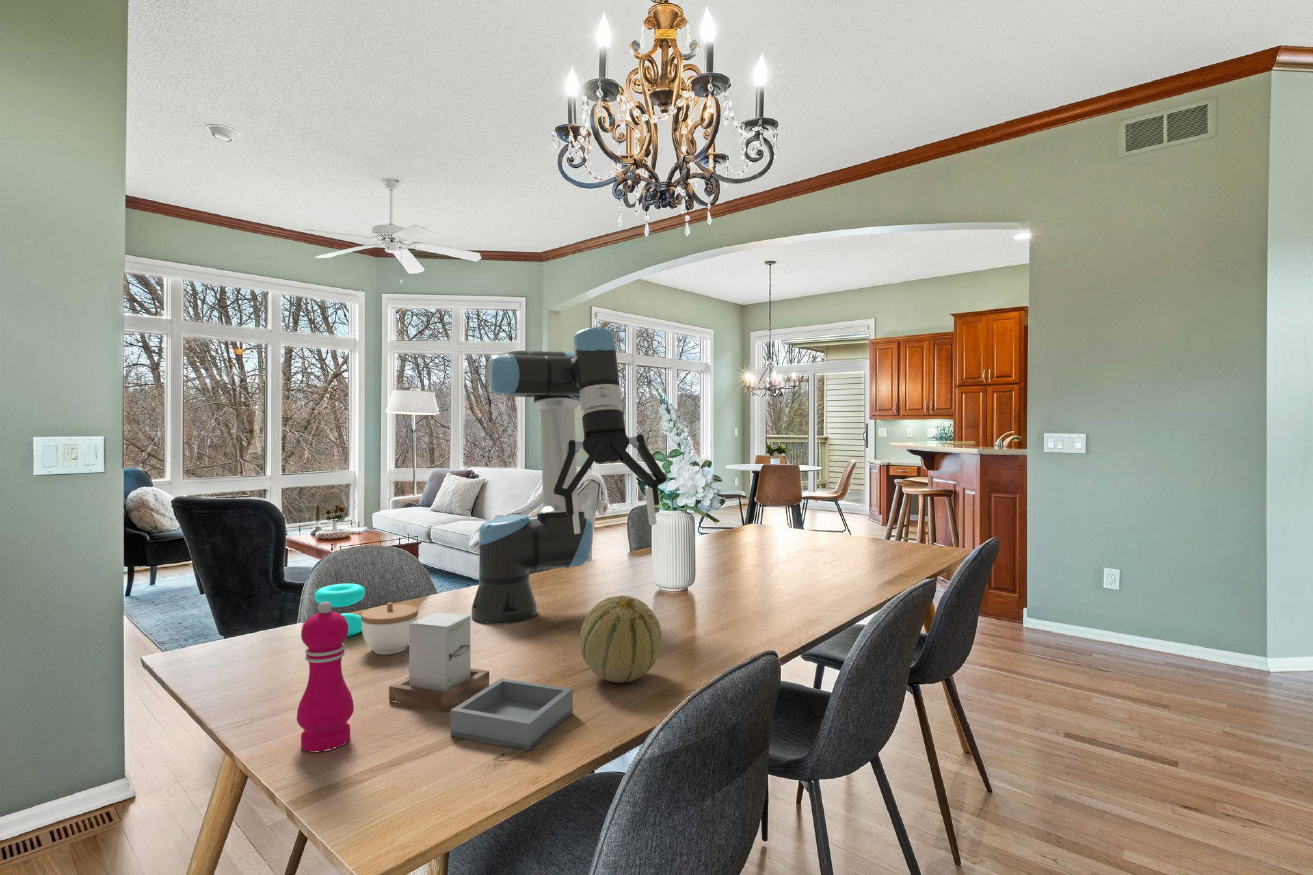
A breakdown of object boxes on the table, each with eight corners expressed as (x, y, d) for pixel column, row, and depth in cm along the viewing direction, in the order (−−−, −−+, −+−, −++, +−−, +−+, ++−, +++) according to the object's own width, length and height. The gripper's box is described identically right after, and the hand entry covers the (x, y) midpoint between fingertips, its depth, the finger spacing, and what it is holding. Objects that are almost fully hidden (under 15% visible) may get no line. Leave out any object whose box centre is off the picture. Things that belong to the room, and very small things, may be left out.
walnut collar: (434, 676, 119) (434, 662, 119) (489, 685, 115) (489, 670, 115) (389, 701, 108) (388, 686, 108) (447, 711, 104) (447, 695, 104)
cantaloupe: (609, 659, 128) (609, 581, 127) (676, 673, 120) (676, 591, 120) (561, 685, 115) (561, 598, 115) (633, 702, 107) (633, 610, 107)
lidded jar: (428, 648, 134) (427, 602, 134) (375, 662, 126) (375, 613, 126) (403, 637, 141) (402, 593, 141) (352, 649, 133) (351, 603, 133)
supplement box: (446, 704, 107) (446, 626, 107) (407, 699, 109) (407, 622, 109) (472, 687, 114) (471, 614, 114) (435, 682, 116) (434, 610, 116)
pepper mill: (310, 731, 97) (309, 595, 97) (361, 729, 98) (360, 594, 98) (287, 755, 90) (286, 609, 90) (342, 753, 91) (341, 607, 90)
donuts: (317, 584, 147) (366, 580, 151) (318, 628, 148) (366, 624, 151) (311, 594, 138) (363, 590, 141) (311, 642, 138) (363, 637, 142)
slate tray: (501, 701, 108) (501, 678, 108) (572, 712, 103) (572, 688, 103) (450, 736, 96) (450, 710, 96) (529, 750, 91) (529, 723, 91)
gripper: (534, 412, 114) (546, 536, 111) (673, 402, 120) (688, 519, 117) (531, 421, 121) (543, 538, 118) (663, 411, 127) (677, 522, 124)
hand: (615, 529), depth 117 cm, fingers open, 13 cm apart
